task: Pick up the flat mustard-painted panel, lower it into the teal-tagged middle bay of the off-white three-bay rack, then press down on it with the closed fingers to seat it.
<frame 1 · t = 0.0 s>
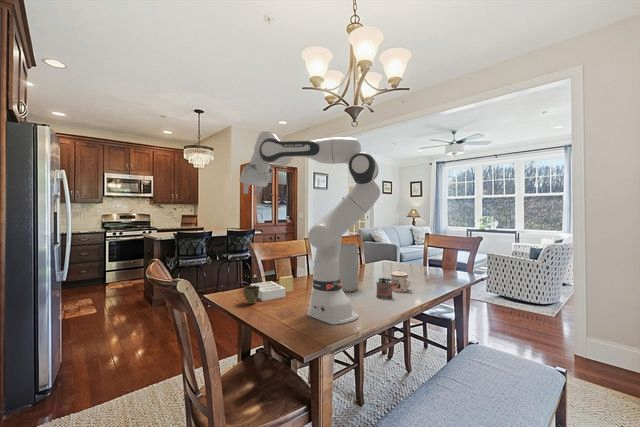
hand: (250, 194, 137), 52 cm above the table, tool tilted 20°, fingers open, 8 cm apart
teacup with lid: (401, 291, 159), on the table
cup: (251, 303, 137), on the table
cylinder vase: (347, 289, 162), on the table
rack: (267, 294, 152), on the table
lighter: (384, 297, 146), on the table
panel: (286, 291, 158), on the table
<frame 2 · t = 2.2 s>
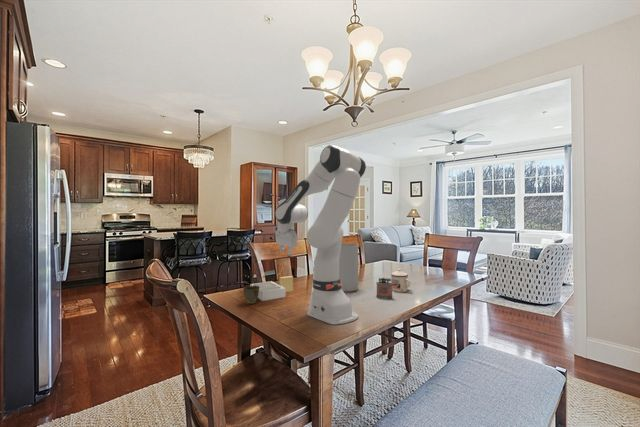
hand: (286, 253, 158), 21 cm above the table, tool pointing down, fingers open, 8 cm apart
nothing on the table moved.
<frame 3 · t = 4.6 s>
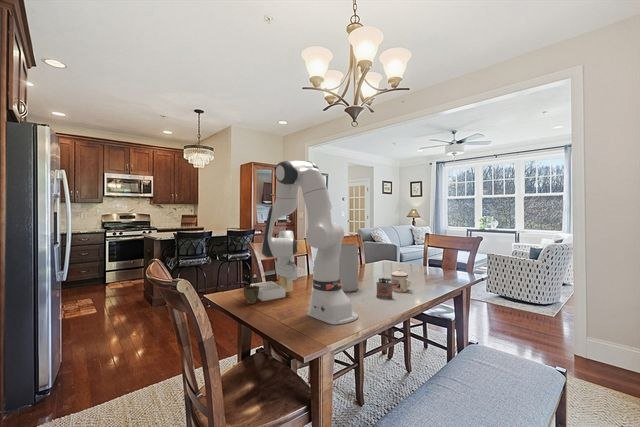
hand: (286, 284, 158), 4 cm above the table, tool pointing down, fingers closed on panel, 2 cm apart
panel: (286, 291, 158), on the table, touching gripper
everything else where it was.
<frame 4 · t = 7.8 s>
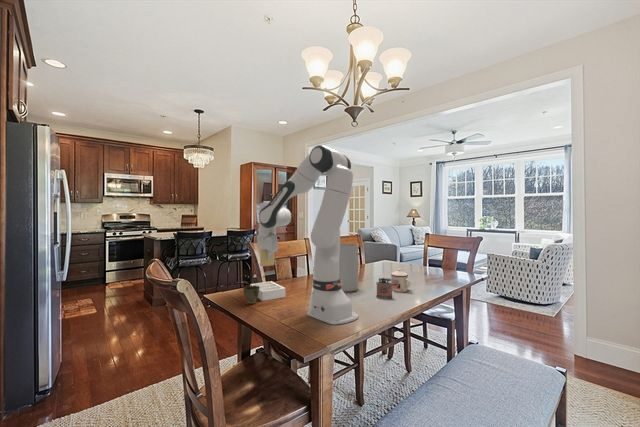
hand: (267, 258, 152), 19 cm above the table, tool pointing down, fingers closed on panel, 2 cm apart
panel: (267, 265, 152), point 15 cm above the table, touching gripper
everything else where it was.
when the fingers open (6 cm above the table, at t = 11.0 s): panel drops 1 cm, resting on rack.
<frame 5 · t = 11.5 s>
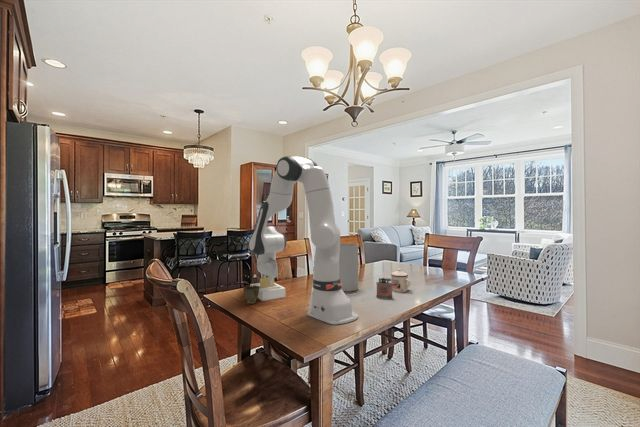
hand: (267, 283, 152), 6 cm above the table, tool pointing down, fingers open, 7 cm apart
panel: (267, 292, 152), point 1 cm above the table, touching rack
everything else where it was.
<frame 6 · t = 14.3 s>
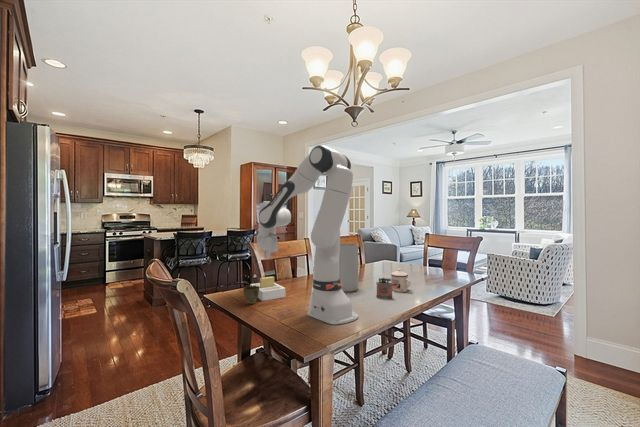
hand: (267, 258, 152), 19 cm above the table, tool pointing down, fingers closed
nothing on the table moved.
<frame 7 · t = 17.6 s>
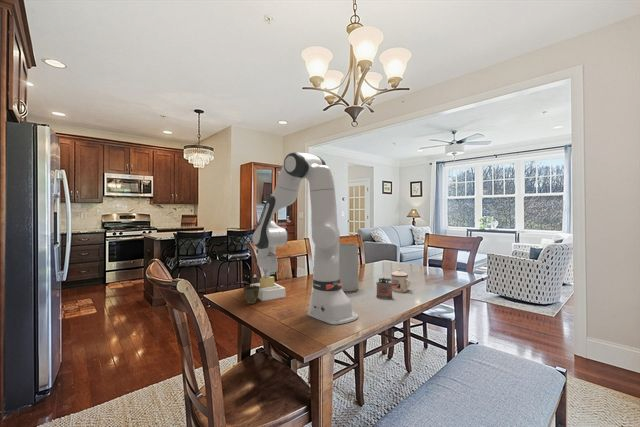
hand: (267, 277, 152), 9 cm above the table, tool pointing down, fingers closed, pressing on panel
panel: (267, 292, 152), point 1 cm above the table, touching gripper, rack
everything else where it was.
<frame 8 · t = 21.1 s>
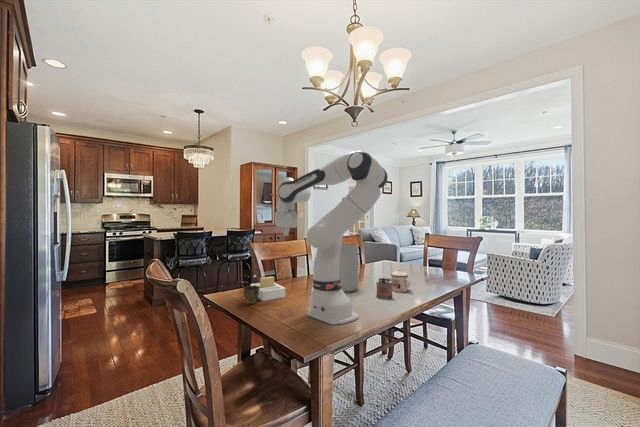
hand: (285, 235, 151), 31 cm above the table, tool pointing down, fingers closed
panel: (267, 292, 152), point 1 cm above the table, touching rack
everything else where it was.
at the end: panel 0.1 cm off-centre on the rack, point 1.0 cm above the rack's base; panel tilted 0°; the gripper is holding nothing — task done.
